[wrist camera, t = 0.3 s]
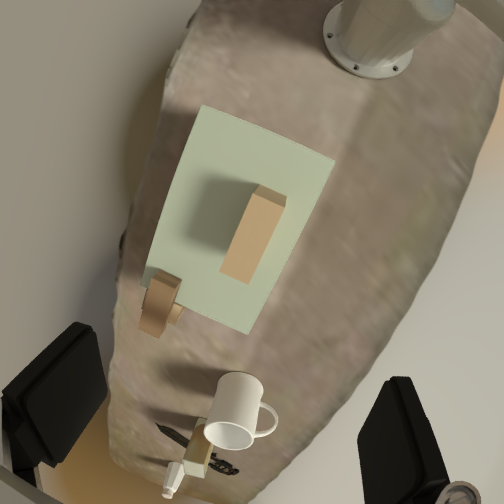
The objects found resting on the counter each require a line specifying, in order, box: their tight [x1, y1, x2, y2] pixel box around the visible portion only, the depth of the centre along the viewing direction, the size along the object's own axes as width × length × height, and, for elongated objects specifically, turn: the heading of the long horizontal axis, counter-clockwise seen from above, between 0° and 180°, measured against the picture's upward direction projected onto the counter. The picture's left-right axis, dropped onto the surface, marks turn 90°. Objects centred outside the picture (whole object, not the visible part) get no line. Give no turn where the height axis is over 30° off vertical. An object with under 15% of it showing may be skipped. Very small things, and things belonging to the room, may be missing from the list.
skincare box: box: [183, 418, 214, 478], centre depth 54 cm, size 6×4×12 cm
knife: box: [156, 423, 239, 476], centre depth 64 cm, size 25×6×1 cm, turn 40°
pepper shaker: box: [162, 462, 185, 499], centre depth 63 cm, size 5×5×11 cm
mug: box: [204, 372, 278, 450], centre depth 48 cm, size 12×8×12 cm
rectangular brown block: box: [138, 269, 182, 339], centre depth 37 cm, size 8×3×2 cm, turn 157°
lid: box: [140, 105, 336, 335], centre depth 32 cm, size 23×15×8 cm, turn 157°
